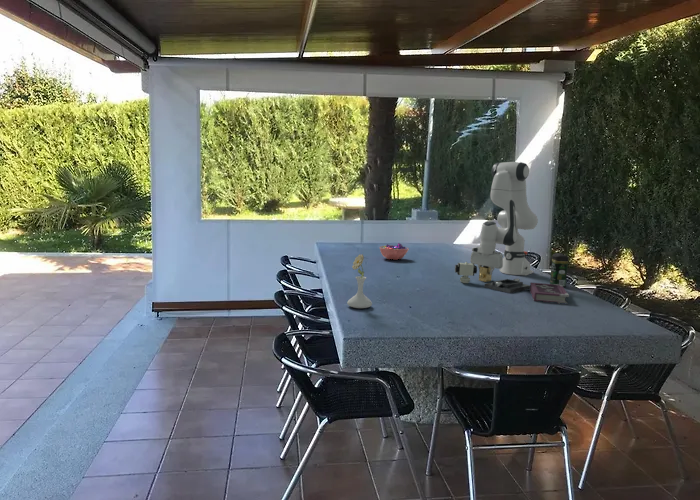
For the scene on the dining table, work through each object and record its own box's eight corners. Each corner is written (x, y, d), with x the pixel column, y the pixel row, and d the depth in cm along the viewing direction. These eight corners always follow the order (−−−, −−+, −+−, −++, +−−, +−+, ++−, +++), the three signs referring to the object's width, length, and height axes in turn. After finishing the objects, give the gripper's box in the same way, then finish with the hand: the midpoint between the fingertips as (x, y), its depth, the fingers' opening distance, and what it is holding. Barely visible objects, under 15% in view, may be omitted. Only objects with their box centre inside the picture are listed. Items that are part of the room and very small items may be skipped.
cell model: (376, 257, 400) (377, 240, 398) (405, 257, 402) (406, 241, 401) (380, 261, 383) (381, 244, 382) (410, 262, 386) (411, 245, 384)
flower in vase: (347, 303, 268) (349, 250, 264) (371, 304, 268) (374, 251, 264) (346, 310, 255) (348, 255, 251) (372, 311, 255) (374, 256, 251)
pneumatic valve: (475, 284, 324) (477, 263, 322) (454, 283, 324) (456, 262, 322) (474, 282, 329) (475, 261, 327) (453, 281, 329) (455, 260, 328)
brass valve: (485, 279, 339) (487, 260, 337) (493, 280, 335) (494, 262, 334) (476, 280, 333) (478, 261, 331) (483, 282, 329) (485, 263, 328)
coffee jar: (547, 283, 333) (550, 252, 330) (561, 284, 333) (564, 252, 330) (553, 287, 324) (556, 254, 321) (567, 288, 324) (570, 255, 321)
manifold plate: (505, 283, 329) (505, 275, 328) (530, 288, 317) (530, 281, 316) (484, 287, 316) (484, 279, 315) (509, 293, 304) (510, 285, 303)
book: (567, 305, 285) (569, 295, 285) (533, 302, 289) (534, 292, 288) (560, 293, 310) (561, 284, 309) (529, 291, 313) (530, 282, 312)
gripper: (506, 252, 326) (504, 276, 328) (476, 247, 341) (474, 270, 343) (499, 253, 322) (497, 277, 324) (469, 248, 337) (468, 271, 339)
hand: (485, 273), depth 334 cm, fingers closed on brass valve, 5 cm apart
